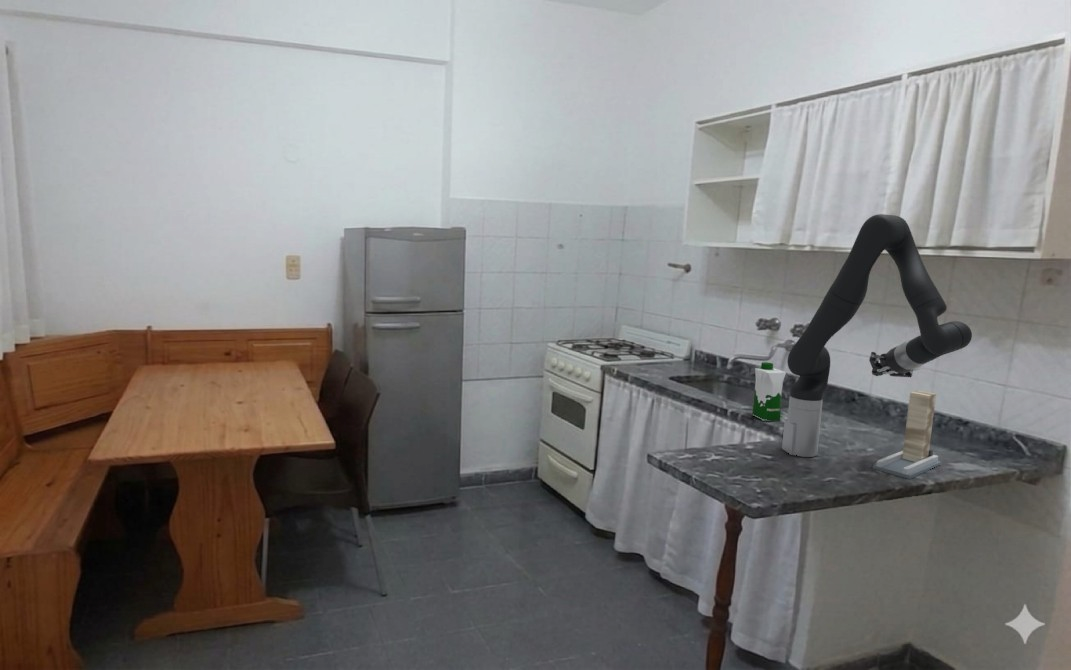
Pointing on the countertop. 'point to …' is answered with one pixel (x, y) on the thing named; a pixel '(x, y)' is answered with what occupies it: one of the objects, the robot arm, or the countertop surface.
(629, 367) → the countertop surface
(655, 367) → the countertop surface
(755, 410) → the milk carton
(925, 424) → the block
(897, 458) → the chute
